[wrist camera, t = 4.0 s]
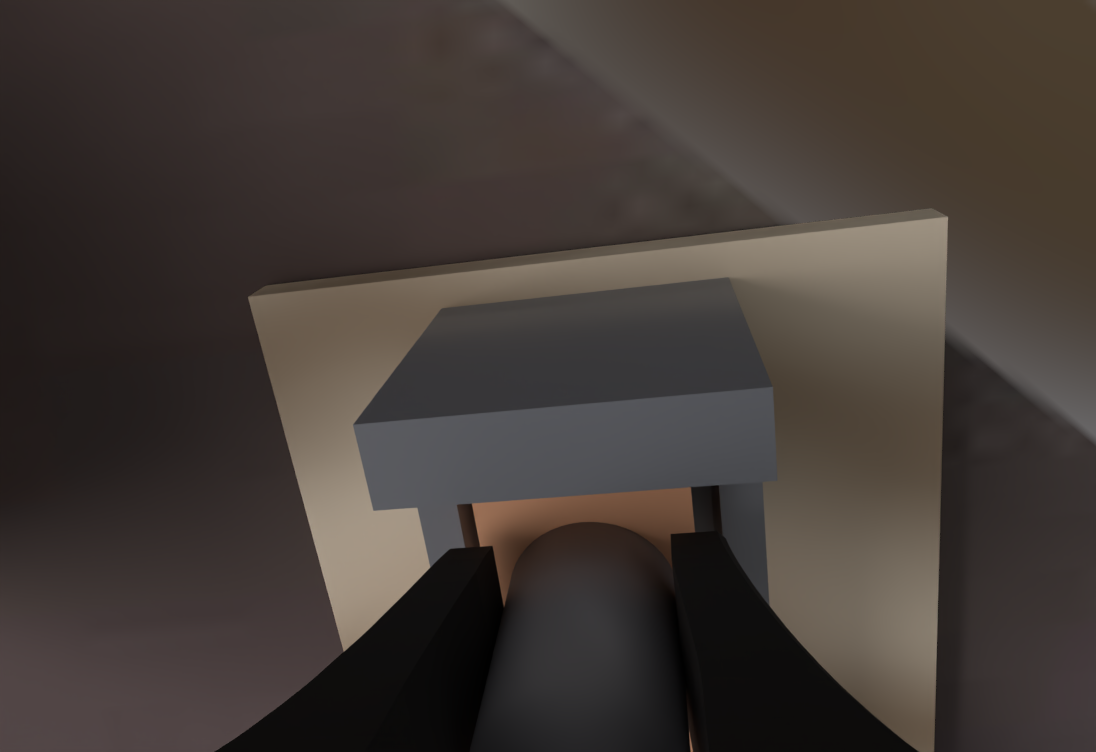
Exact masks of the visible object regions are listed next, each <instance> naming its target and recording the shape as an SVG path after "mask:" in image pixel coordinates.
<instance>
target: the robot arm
mask: <svg viewBox="0 0 1096 752" xmlns="http://www.w3.org/2000/svg"><path fill="white" fill-rule="evenodd" d="M671 558H672V568H673V578H674V588H675V598H676V608H677V617H678V627H679V637H680V647H681V654H682V660H683V667H684V674H685V684H686V697H687V711H688V724H689V733H690V738H691V744H692V749H693V752H919V751H917V750H916V749H915V748H913V747H912V746H911V745H909V744H908V743H906V742H905V741H904V740H903V739H901V738H900V737H899V736H898V735H897V734H895V733H894V732H893V731H892V730H891V729H889V728H888V727H887V726H886V725H885V724H883V723H882V722H881V721H880V720H879V719H877V718H876V717H875V716H874V715H873V714H872V713H870V712H869V711H868V710H867V709H866V708H865V707H864V706H863V705H862V704H861V703H859V702H858V701H857V700H856V699H855V698H854V697H853V696H852V695H851V694H849V693H848V692H847V691H846V690H845V689H844V688H843V687H842V686H841V685H840V684H839V683H838V682H837V681H836V680H835V679H834V678H833V677H832V676H831V675H830V674H829V673H828V672H827V671H826V670H825V669H824V668H823V667H822V666H821V665H820V664H819V663H818V662H817V661H816V659H815V658H814V657H813V656H812V655H811V654H810V653H809V652H808V651H807V650H806V649H805V648H804V647H803V645H802V644H801V643H800V642H799V641H798V640H797V639H796V638H795V636H794V635H793V634H792V633H791V632H790V631H789V629H788V628H787V627H786V626H785V625H784V623H783V622H782V621H781V620H780V618H779V617H778V616H777V615H776V613H775V612H774V611H773V610H772V608H771V607H770V606H769V605H768V603H767V602H766V601H765V600H764V598H763V597H762V596H761V594H760V593H759V592H758V590H757V589H756V588H755V586H754V585H753V583H752V582H751V580H750V579H749V577H748V576H747V575H746V573H745V572H744V570H743V569H742V567H741V565H740V564H739V562H738V561H737V559H736V557H735V556H734V554H733V552H732V550H731V548H730V546H729V544H728V542H727V540H726V538H725V537H724V536H723V535H721V534H720V533H719V532H718V531H707V532H692V533H677V534H671ZM503 609H504V604H503V599H502V594H501V588H500V583H499V578H498V572H497V567H496V561H495V556H494V551H493V546H483V547H468V548H453V549H449V550H448V551H447V552H446V553H445V554H444V555H442V556H441V557H440V558H439V559H438V560H437V561H436V562H435V563H434V564H433V565H432V566H431V567H430V568H429V569H428V570H427V571H426V572H425V573H424V575H423V576H422V577H421V578H420V579H419V580H418V581H417V582H416V583H415V584H414V585H413V586H412V587H411V588H410V589H409V590H408V591H407V592H406V593H405V594H404V595H403V596H402V597H401V598H400V599H399V600H398V601H397V602H396V603H395V604H394V605H393V606H392V607H391V608H390V609H389V610H388V611H387V612H386V613H385V614H384V615H383V616H382V617H381V618H380V619H379V620H378V621H377V622H376V623H375V624H374V625H373V626H372V627H371V628H370V629H369V630H368V631H366V632H365V633H364V634H363V635H362V636H361V637H360V638H359V639H358V640H357V641H355V642H354V643H353V644H352V645H351V646H350V647H349V648H348V649H346V650H345V651H344V652H343V653H342V654H341V655H340V656H339V657H338V658H336V659H335V660H334V661H333V662H332V663H331V664H330V665H329V666H327V667H326V668H325V669H324V670H323V671H322V672H321V673H320V674H319V675H317V676H316V677H315V678H314V679H313V680H312V681H310V682H309V683H308V684H307V685H306V686H304V687H303V688H302V689H301V690H300V691H298V692H297V693H296V694H294V695H293V696H292V697H291V698H289V699H288V700H287V701H286V702H284V703H283V704H282V705H280V706H279V707H278V708H276V709H275V710H274V711H272V712H271V713H270V714H268V715H267V716H266V717H264V718H263V719H262V720H260V721H259V722H258V723H256V724H255V725H253V726H252V727H251V728H249V729H248V730H247V731H245V732H244V733H242V734H241V735H239V736H238V737H237V738H235V739H234V740H232V741H231V742H229V743H228V744H226V745H224V746H223V747H221V748H220V749H218V750H217V751H215V752H470V747H471V743H472V738H473V734H474V730H475V726H476V722H477V718H478V713H479V709H480V705H481V701H482V697H483V693H484V688H485V684H486V680H487V676H488V672H489V668H490V663H491V659H492V655H493V651H494V647H495V643H496V638H497V634H498V630H499V626H500V622H501V618H502V613H503Z"/></svg>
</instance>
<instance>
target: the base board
mask: <svg viewBox="0 0 1096 752" xmlns="http://www.w3.org/2000/svg"><path fill="white" fill-rule="evenodd" d="M947 235H948V217H947V216H946V215H944V214H942V213H940V212H938V211H936V210H934V209H933V208H929V209H920V210H912V211H903V212H894V213H886V214H877V215H869V216H860V217H851V218H843V219H834V220H825V221H817V222H808V223H799V224H791V225H782V226H774V227H765V228H756V229H748V230H739V231H730V232H722V233H713V234H705V235H696V236H687V237H679V238H670V239H662V240H653V241H644V242H636V243H627V244H618V245H610V246H601V247H593V248H584V249H575V250H567V251H558V252H550V253H541V254H532V255H524V256H515V257H506V258H498V259H489V260H481V261H472V262H463V263H455V264H446V265H438V266H429V267H420V268H412V269H403V270H394V271H386V272H377V273H369V274H360V275H351V276H343V277H334V278H326V279H317V280H308V281H300V282H291V283H282V284H274V285H266V286H264V287H263V288H261V289H260V290H258V291H256V292H255V293H253V294H252V295H250V296H248V299H249V303H250V307H251V311H252V314H253V318H254V322H255V325H256V329H257V333H258V336H259V340H260V344H261V347H262V351H263V355H264V359H265V362H266V366H267V370H268V373H269V377H270V381H271V384H272V388H273V392H274V395H275V399H276V403H277V407H278V410H279V414H280V418H281V421H282V425H283V429H284V432H285V436H286V440H287V443H288V447H289V451H290V455H291V458H292V462H293V466H294V469H295V473H296V477H297V480H298V484H299V488H300V491H301V495H302V499H303V503H304V506H305V510H306V514H307V517H308V521H309V525H310V528H311V532H312V536H313V539H314V543H315V547H316V551H317V554H318V558H319V562H320V565H321V569H322V573H323V576H324V580H325V584H326V588H327V591H328V595H329V599H330V602H331V606H332V610H333V613H334V617H335V621H336V624H337V628H338V632H339V636H340V639H341V643H342V647H343V650H344V651H345V650H346V649H348V648H349V647H350V646H351V645H352V644H353V643H354V642H355V641H357V640H358V639H359V638H360V637H361V636H362V635H363V634H364V633H365V632H366V631H368V630H369V629H370V628H371V627H372V626H373V625H374V624H375V623H376V622H377V621H378V620H379V619H380V618H381V617H382V616H383V615H384V614H385V613H386V612H387V611H388V610H389V609H390V608H391V607H392V606H393V605H394V604H395V603H396V602H397V601H398V600H399V599H400V598H401V597H402V596H403V595H404V594H405V593H406V592H407V591H408V590H409V589H410V588H411V587H412V586H413V585H414V584H415V583H416V582H417V581H418V580H419V579H420V578H421V577H422V576H423V575H424V573H425V572H426V571H427V570H428V569H429V568H430V564H429V559H428V554H427V550H426V545H425V541H424V536H423V531H422V527H421V522H420V518H419V513H418V509H417V508H405V509H391V510H378V511H373V507H372V503H371V499H370V494H369V490H368V486H367V482H366V478H365V474H364V469H363V465H362V461H361V457H360V453H359V448H358V444H357V440H356V436H355V432H354V428H353V424H354V423H355V421H356V420H357V419H358V417H359V416H360V415H361V413H362V412H363V411H364V409H365V408H366V407H367V406H368V404H369V403H370V402H371V400H372V399H373V398H374V396H375V395H376V394H377V392H378V391H379V390H380V388H381V387H382V386H383V385H384V383H385V382H386V381H387V379H388V378H389V377H390V375H391V374H392V373H393V371H394V370H395V369H396V367H397V366H398V365H399V364H400V362H401V361H402V360H403V358H404V357H405V356H406V354H407V353H408V352H409V350H410V349H411V348H412V346H413V345H414V344H415V343H416V341H417V340H418V339H419V337H420V336H421V335H422V333H423V332H424V331H425V329H426V328H427V327H428V325H429V324H430V323H431V322H432V320H433V319H434V318H435V316H436V315H437V314H438V312H439V311H440V310H441V308H449V307H458V306H467V305H477V304H486V303H495V302H504V301H513V300H523V299H532V298H541V297H550V296H560V295H569V294H578V293H587V292H596V291H606V290H615V289H624V288H633V287H642V286H652V285H661V284H670V283H679V282H688V281H698V280H707V279H716V278H725V277H729V279H730V282H731V284H732V287H733V289H734V292H735V294H736V297H737V299H738V302H739V304H740V307H741V309H742V312H743V314H744V317H745V319H746V322H747V324H748V327H749V329H750V332H751V334H752V336H753V339H754V341H755V344H756V346H757V349H758V351H759V354H760V356H761V359H762V361H763V364H764V366H765V369H766V371H767V374H768V376H769V379H770V381H771V384H772V386H773V400H774V420H775V440H776V460H777V481H768V482H763V499H764V517H765V534H766V552H767V570H768V588H769V606H770V607H771V608H772V610H773V611H774V612H775V613H776V615H777V616H778V617H779V618H780V620H781V621H782V622H783V623H784V625H785V626H786V627H787V628H788V629H789V631H790V632H791V633H792V634H793V635H794V636H795V638H796V639H797V640H798V641H799V642H800V643H801V644H802V645H803V647H804V648H805V649H806V650H807V651H808V652H809V653H810V654H811V655H812V656H813V657H814V658H815V659H816V661H817V662H818V663H819V664H820V665H821V666H822V667H823V668H824V669H825V670H826V671H827V672H828V673H829V674H830V675H831V676H832V677H833V678H834V679H835V680H836V681H837V682H838V683H839V684H840V685H841V686H842V687H843V688H844V689H845V690H846V691H847V692H848V693H849V694H851V695H852V696H853V697H854V698H855V699H856V700H857V701H858V702H859V703H861V704H862V705H863V706H864V707H865V708H866V709H867V710H868V711H869V712H870V713H872V714H873V715H874V716H875V717H876V718H877V719H879V720H880V721H881V722H882V723H883V724H885V725H886V726H887V727H888V728H889V729H891V730H892V731H893V732H894V733H895V734H897V735H898V736H899V737H900V738H901V739H903V740H904V741H905V742H906V743H908V744H909V745H911V746H912V747H913V748H915V749H916V750H917V751H919V752H934V736H935V697H936V659H937V621H938V582H939V544H940V506H941V468H942V429H943V391H944V353H945V314H946V276H947V238H948V237H947Z"/></svg>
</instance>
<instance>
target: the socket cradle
mask: <svg viewBox="0 0 1096 752" xmlns="http://www.w3.org/2000/svg"><path fill="white" fill-rule="evenodd" d="M353 428H354V432H355V436H356V440H357V444H358V448H359V453H360V457H361V461H362V465H363V469H364V474H365V478H366V482H367V486H368V490H369V494H370V499H371V503H372V507H373V511H378V510H391V509H405V508H417V509H418V513H419V518H420V522H421V527H422V531H423V536H424V541H425V545H426V550H427V554H428V559H429V564H430V567H431V566H432V565H433V564H434V563H435V562H436V561H437V560H438V559H439V558H440V557H441V556H442V555H444V554H445V553H446V552H447V551H448V550H449V549H453V548H468V547H480V543H479V538H478V533H477V527H476V522H475V517H474V512H473V507H472V503H486V502H499V501H512V500H526V499H539V498H553V497H566V496H580V495H593V494H607V493H620V492H633V491H647V490H660V489H674V488H687V487H691V494H692V505H693V517H694V528H695V532H707V531H718V532H719V533H720V534H721V535H723V536H724V537H725V538H726V540H727V542H728V544H729V546H730V548H731V550H732V552H733V554H734V556H735V557H736V559H737V561H738V562H739V564H740V565H741V567H742V569H743V570H744V572H745V573H746V575H747V576H748V577H749V579H750V580H751V582H752V583H753V585H754V586H755V588H756V589H757V590H758V592H759V593H760V594H761V596H762V597H763V598H764V600H765V601H766V602H767V603H768V605H769V588H768V570H767V552H766V534H765V517H764V499H763V482H768V481H777V460H776V440H775V420H774V400H773V386H772V384H771V381H770V379H769V376H768V374H767V371H766V369H765V366H764V364H763V361H762V359H761V356H760V354H759V351H758V349H757V346H756V344H755V341H754V339H753V336H752V334H751V332H750V329H749V327H748V324H747V322H746V319H745V317H744V314H743V312H742V309H741V307H740V304H739V302H738V299H737V297H736V294H735V292H734V289H733V287H732V284H731V282H730V279H729V277H725V278H716V279H707V280H698V281H688V282H679V283H670V284H661V285H652V286H642V287H633V288H624V289H615V290H606V291H596V292H587V293H578V294H569V295H560V296H550V297H541V298H532V299H523V300H513V301H504V302H495V303H486V304H477V305H467V306H458V307H449V308H441V310H440V311H439V312H438V314H437V315H436V316H435V318H434V319H433V320H432V322H431V323H430V324H429V325H428V327H427V328H426V329H425V331H424V332H423V333H422V335H421V336H420V337H419V339H418V340H417V341H416V343H415V344H414V345H413V346H412V348H411V349H410V350H409V352H408V353H407V354H406V356H405V357H404V358H403V360H402V361H401V362H400V364H399V365H398V366H397V367H396V369H395V370H394V371H393V373H392V374H391V375H390V377H389V378H388V379H387V381H386V382H385V383H384V385H383V386H382V387H381V388H380V390H379V391H378V392H377V394H376V395H375V396H374V398H373V399H372V400H371V402H370V403H369V404H368V406H367V407H366V408H365V409H364V411H363V412H362V413H361V415H360V416H359V417H358V419H357V420H356V421H355V423H354V424H353Z"/></svg>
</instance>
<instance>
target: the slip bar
mask: <svg viewBox="0 0 1096 752" xmlns="http://www.w3.org/2000/svg"><path fill="white" fill-rule="evenodd" d="M472 507H473V512H474V517H475V522H476V527H477V533H478V538H479V543H480V547H483V546H493V551H494V556H495V561H496V567H497V572H498V578H499V583H500V588H501V594H502V599H503V604H504V609H503V613H502V618H501V622H500V626H499V630H498V634H497V638H496V643H495V647H494V651H493V655H492V659H491V663H490V668H489V672H488V676H487V680H486V684H485V688H484V693H483V697H482V701H481V705H480V709H479V713H478V718H477V722H476V726H475V730H474V734H473V738H472V743H471V747H470V752H693V749H692V744H691V738H690V733H689V724H688V711H687V697H686V684H685V674H684V667H683V660H682V654H681V647H680V637H679V627H678V617H677V608H676V598H675V588H674V578H673V568H672V558H671V534H677V533H692V532H695V528H694V517H693V505H692V494H691V487H687V488H674V489H660V490H647V491H633V492H620V493H607V494H593V495H580V496H566V497H553V498H539V499H526V500H512V501H499V502H486V503H472Z"/></svg>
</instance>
